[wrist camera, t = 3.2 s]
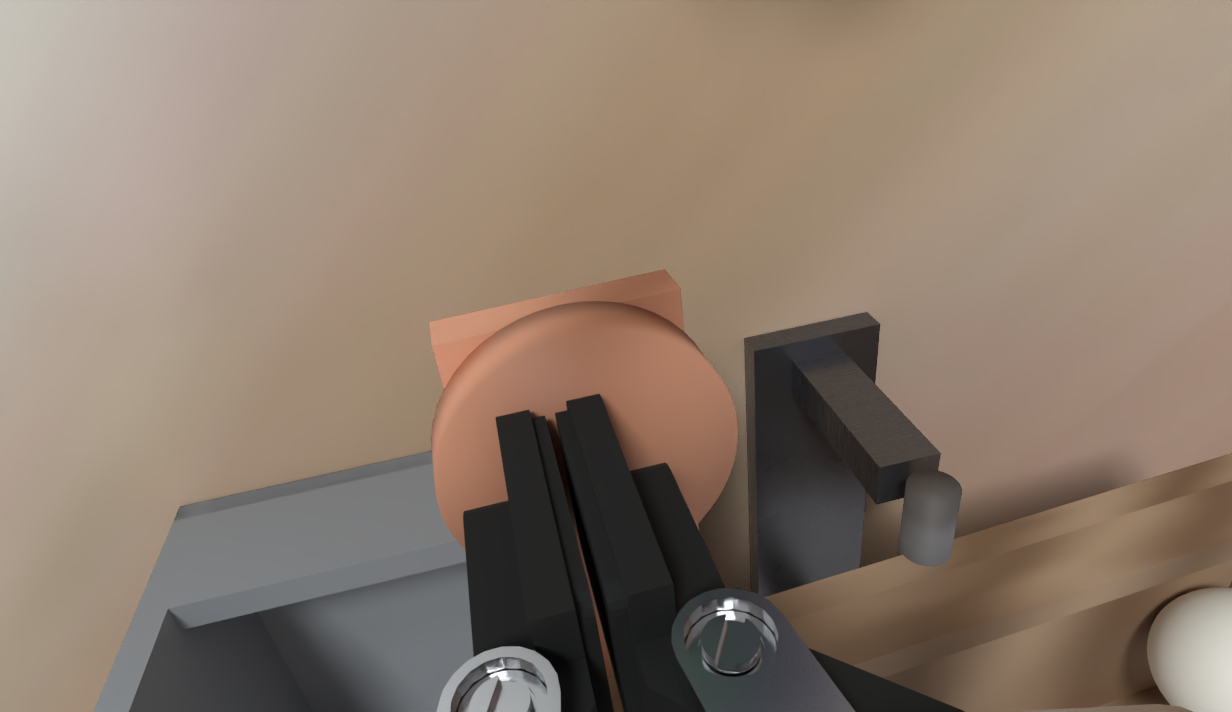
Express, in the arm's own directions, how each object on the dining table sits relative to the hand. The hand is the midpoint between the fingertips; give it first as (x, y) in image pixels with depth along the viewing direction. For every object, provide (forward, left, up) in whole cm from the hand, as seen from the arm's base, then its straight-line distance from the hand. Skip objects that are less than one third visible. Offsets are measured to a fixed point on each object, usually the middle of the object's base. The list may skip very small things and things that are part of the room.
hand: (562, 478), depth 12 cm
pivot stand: (-8, +12, -9) cm, 17 cm away
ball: (-17, +12, 0) cm, 20 cm away
